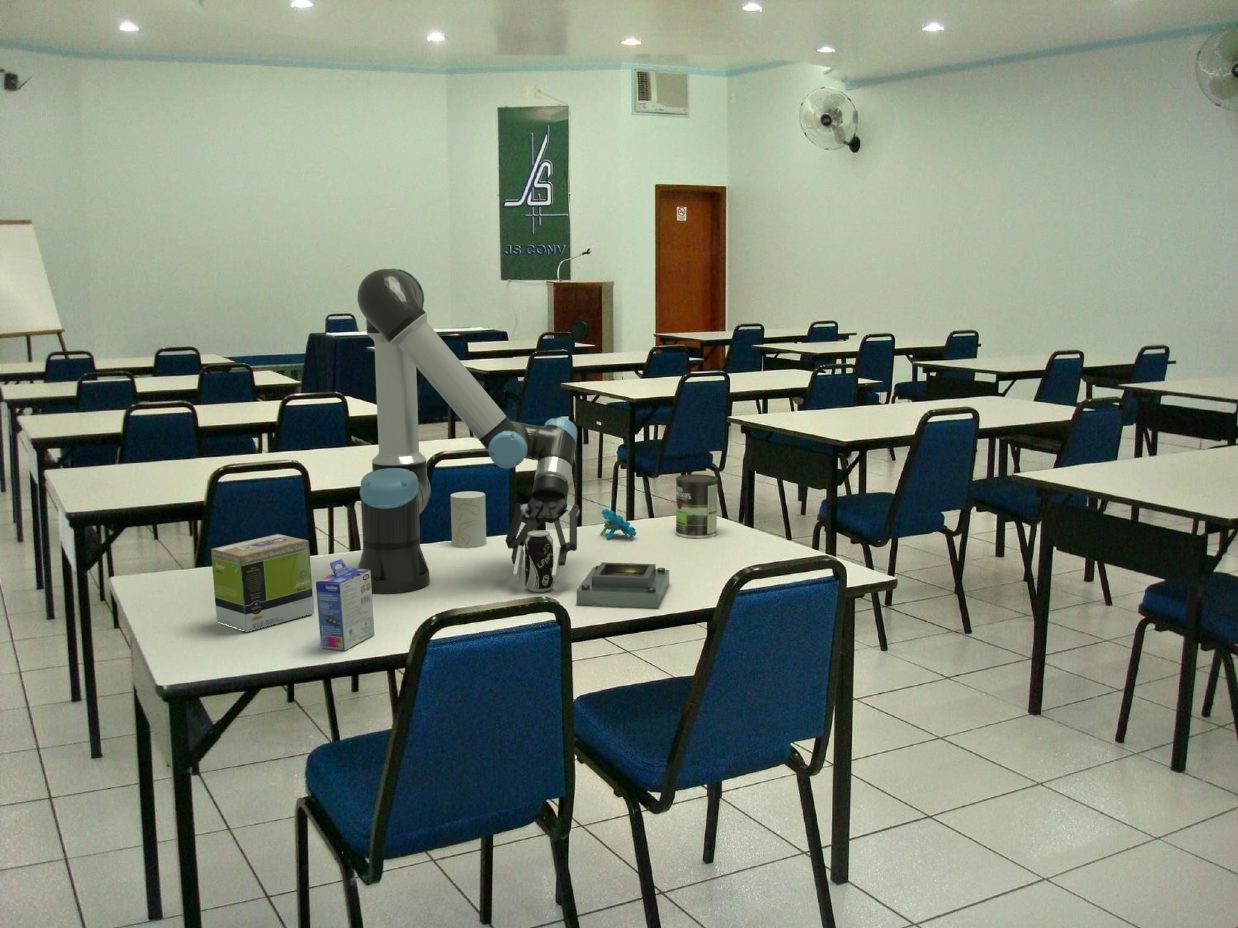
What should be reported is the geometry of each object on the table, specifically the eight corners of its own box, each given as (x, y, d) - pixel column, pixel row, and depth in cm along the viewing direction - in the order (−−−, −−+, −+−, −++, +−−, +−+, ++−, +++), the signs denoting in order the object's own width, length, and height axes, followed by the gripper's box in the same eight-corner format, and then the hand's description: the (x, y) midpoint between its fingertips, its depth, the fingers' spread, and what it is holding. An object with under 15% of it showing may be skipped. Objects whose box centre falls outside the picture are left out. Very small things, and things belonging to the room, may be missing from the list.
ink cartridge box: (349, 631, 210) (345, 553, 207) (376, 634, 208) (372, 556, 205) (317, 648, 200) (313, 567, 198) (345, 651, 199) (341, 569, 196)
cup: (446, 546, 274) (444, 496, 272) (460, 539, 282) (459, 490, 280) (478, 548, 272) (476, 498, 270) (491, 541, 279) (490, 492, 277)
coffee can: (689, 540, 279) (689, 482, 277) (667, 532, 288) (668, 476, 286) (725, 535, 284) (726, 479, 281) (703, 527, 293) (703, 472, 290)
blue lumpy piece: (644, 533, 279) (616, 507, 276) (630, 552, 277) (601, 526, 274) (624, 530, 289) (596, 505, 285) (610, 549, 287) (582, 524, 284)
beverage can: (535, 595, 232) (534, 536, 230) (520, 589, 237) (519, 531, 235) (559, 590, 236) (558, 533, 234) (543, 584, 240) (543, 528, 238)
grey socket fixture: (593, 581, 243) (593, 557, 242) (669, 583, 240) (669, 560, 239) (576, 605, 225) (576, 580, 224) (658, 608, 223) (658, 583, 222)
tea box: (283, 605, 226) (279, 532, 224) (315, 615, 220) (311, 539, 217) (214, 624, 215) (209, 546, 212) (245, 634, 208) (240, 554, 206)
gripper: (600, 494, 247) (587, 588, 234) (509, 492, 250) (490, 584, 237) (596, 474, 241) (581, 569, 228) (502, 472, 244) (482, 566, 231)
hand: (535, 577), depth 232 cm, fingers open, 7 cm apart
